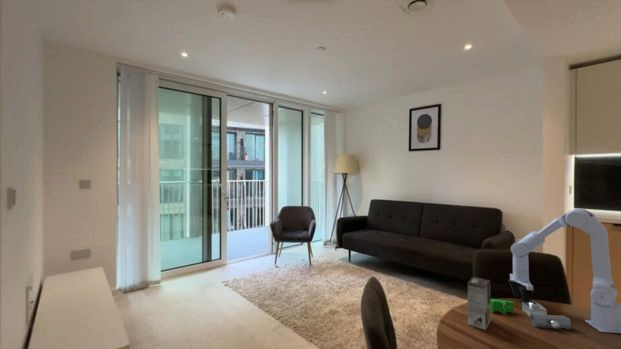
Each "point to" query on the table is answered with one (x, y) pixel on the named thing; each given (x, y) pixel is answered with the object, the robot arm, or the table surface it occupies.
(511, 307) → the pipe clamp
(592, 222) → the robot arm
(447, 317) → the table surface
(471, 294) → the coffee box
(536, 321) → the end block
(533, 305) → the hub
